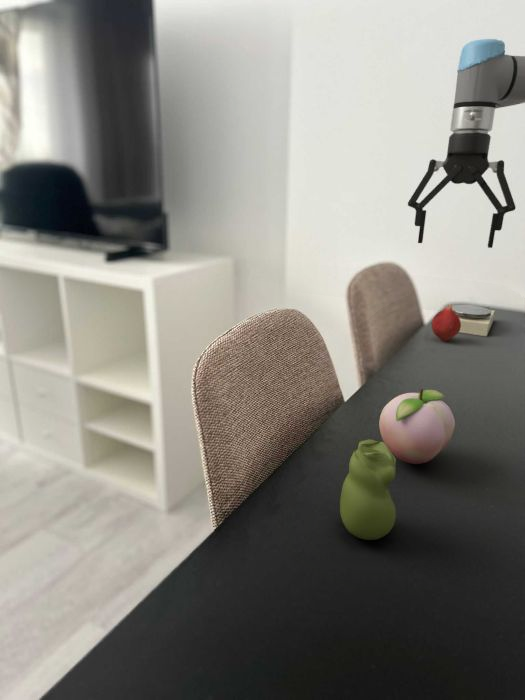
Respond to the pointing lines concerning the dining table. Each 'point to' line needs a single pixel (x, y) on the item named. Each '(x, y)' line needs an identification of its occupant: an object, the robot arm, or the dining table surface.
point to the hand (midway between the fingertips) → (454, 244)
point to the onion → (446, 324)
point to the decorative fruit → (416, 426)
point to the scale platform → (471, 311)
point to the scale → (476, 324)
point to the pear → (369, 491)
